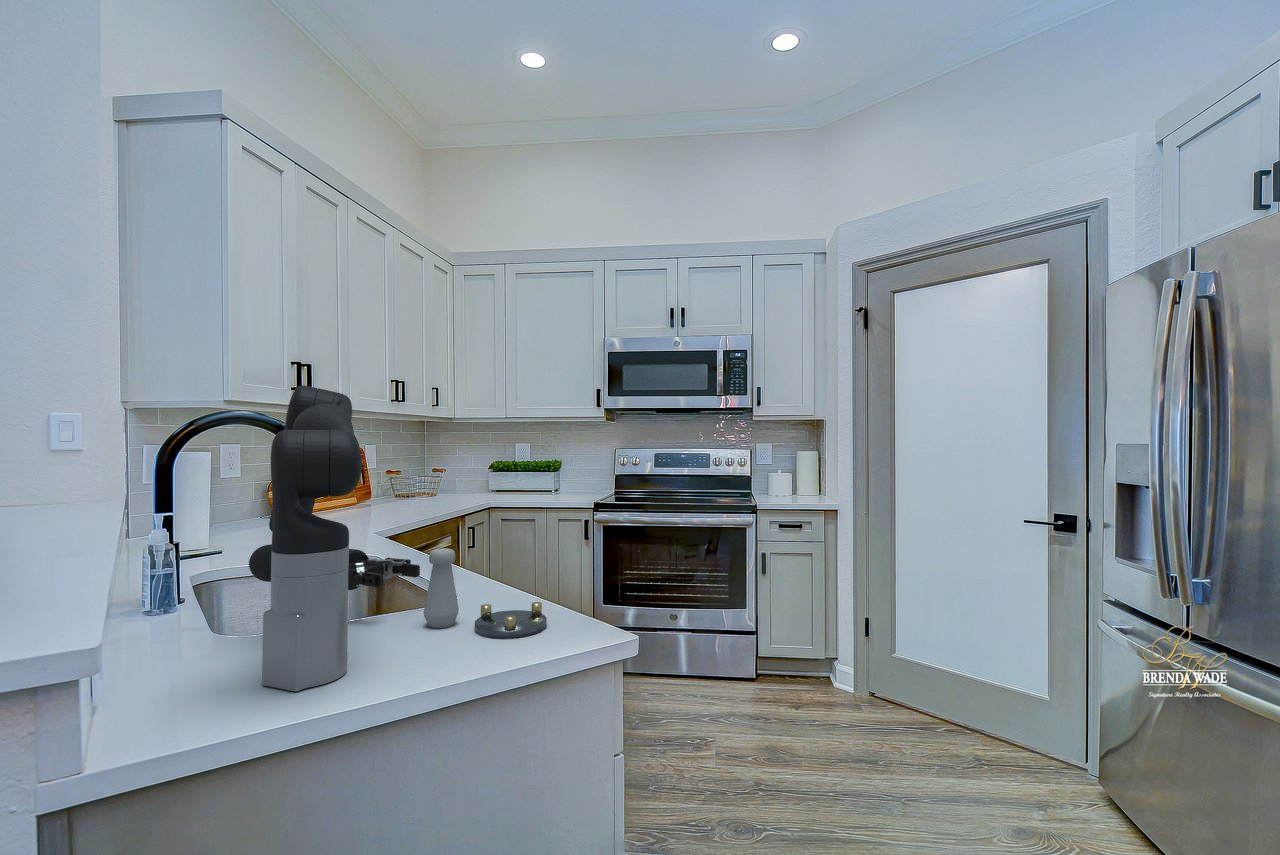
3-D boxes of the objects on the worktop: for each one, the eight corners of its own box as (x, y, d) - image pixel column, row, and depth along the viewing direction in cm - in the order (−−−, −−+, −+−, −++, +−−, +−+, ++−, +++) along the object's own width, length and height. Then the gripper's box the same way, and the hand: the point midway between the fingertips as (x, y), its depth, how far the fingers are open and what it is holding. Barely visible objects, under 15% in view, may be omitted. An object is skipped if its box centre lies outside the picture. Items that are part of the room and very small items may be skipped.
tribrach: (523, 642, 95) (523, 622, 95) (459, 633, 99) (460, 614, 99) (558, 621, 107) (558, 602, 107) (500, 614, 111) (500, 596, 111)
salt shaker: (436, 632, 100) (437, 553, 100) (416, 625, 104) (417, 549, 104) (465, 623, 105) (466, 548, 105) (445, 617, 108) (446, 545, 108)
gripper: (303, 554, 108) (368, 562, 102) (368, 542, 121) (430, 548, 115) (302, 596, 108) (367, 606, 102) (367, 579, 121) (429, 588, 115)
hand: (400, 575), depth 108 cm, fingers open, 8 cm apart
